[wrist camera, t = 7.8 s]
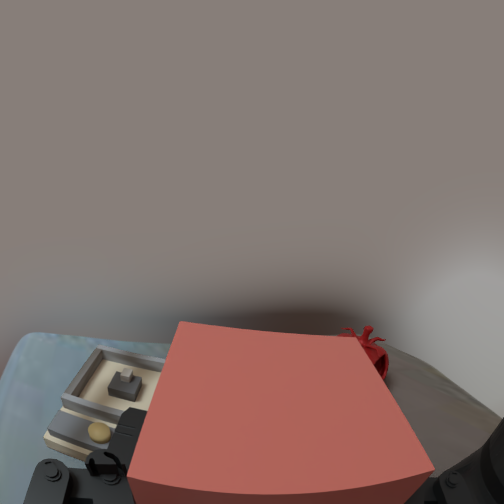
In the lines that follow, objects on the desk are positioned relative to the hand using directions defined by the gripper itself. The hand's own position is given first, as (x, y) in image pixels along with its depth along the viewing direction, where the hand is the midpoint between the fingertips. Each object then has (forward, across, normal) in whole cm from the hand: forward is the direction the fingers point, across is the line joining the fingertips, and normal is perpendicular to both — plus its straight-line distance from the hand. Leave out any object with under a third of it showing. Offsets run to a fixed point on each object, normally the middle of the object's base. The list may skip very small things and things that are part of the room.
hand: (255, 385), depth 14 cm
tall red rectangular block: (-5, 0, -6) cm, 8 cm away
